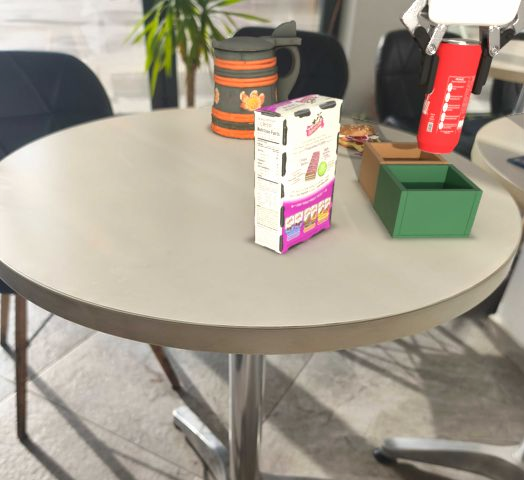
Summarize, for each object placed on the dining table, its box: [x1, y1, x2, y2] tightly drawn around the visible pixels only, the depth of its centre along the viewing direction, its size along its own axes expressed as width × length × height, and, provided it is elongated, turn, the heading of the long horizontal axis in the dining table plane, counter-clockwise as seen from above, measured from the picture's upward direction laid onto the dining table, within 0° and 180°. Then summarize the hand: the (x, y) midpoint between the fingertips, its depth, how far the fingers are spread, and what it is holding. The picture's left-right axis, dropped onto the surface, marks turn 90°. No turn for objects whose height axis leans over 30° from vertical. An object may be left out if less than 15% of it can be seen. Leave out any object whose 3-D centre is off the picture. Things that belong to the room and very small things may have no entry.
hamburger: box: [338, 123, 382, 157], centre depth 96 cm, size 14×14×6 cm
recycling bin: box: [372, 163, 484, 239], centre depth 68 cm, size 11×11×7 cm
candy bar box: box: [253, 93, 344, 255], centre depth 61 cm, size 11×5×16 cm, turn 139°
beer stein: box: [210, 19, 303, 140], centre depth 102 cm, size 19×15×20 cm
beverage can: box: [416, 37, 482, 155], centre depth 60 cm, size 5×5×12 cm
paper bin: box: [358, 141, 450, 205], centre depth 77 cm, size 10×10×7 cm
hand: (448, 90), depth 60 cm, fingers closed on beverage can, 5 cm apart
